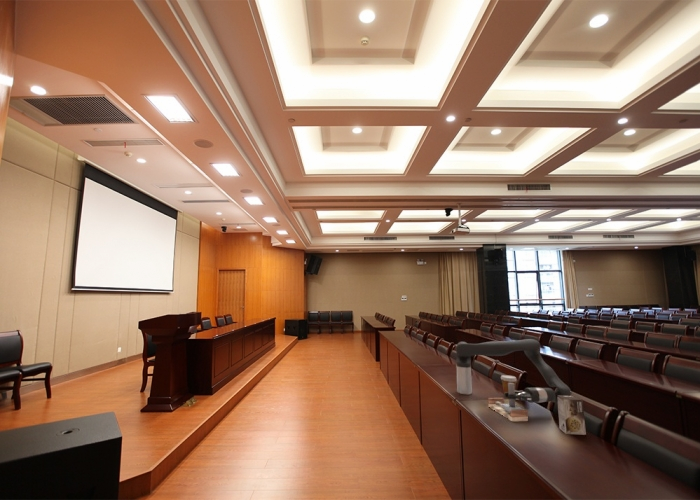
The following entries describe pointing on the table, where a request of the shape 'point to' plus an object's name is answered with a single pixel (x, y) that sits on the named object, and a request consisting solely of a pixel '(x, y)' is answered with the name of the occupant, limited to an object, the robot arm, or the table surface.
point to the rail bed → (513, 415)
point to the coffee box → (571, 414)
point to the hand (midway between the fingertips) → (507, 395)
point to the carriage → (511, 400)
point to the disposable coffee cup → (506, 380)
